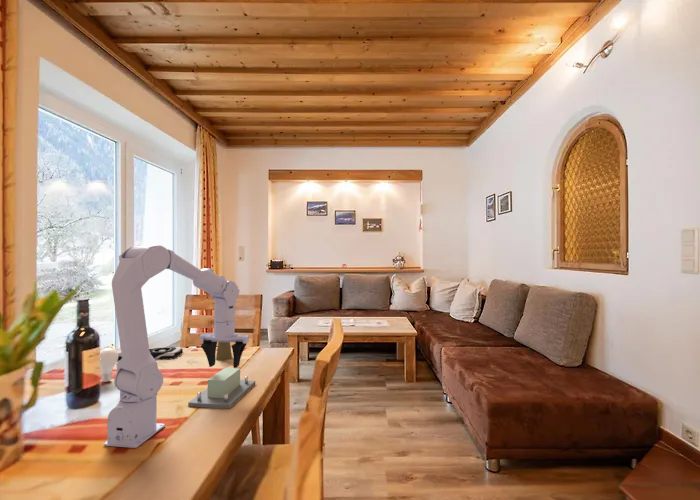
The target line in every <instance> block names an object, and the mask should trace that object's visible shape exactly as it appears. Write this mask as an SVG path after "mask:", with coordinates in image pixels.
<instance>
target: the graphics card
mask: <svg viewBox="0 0 700 500" xmlns="http://www.w3.org/2000/svg"><path fill="white" fill-rule="evenodd" d="M183 350H184V349H183V348H182V347H181V346H180V347H179V346H175V347H174V346H170V347H168V346H165V347H149V351H150V354H151V355H152V356H153V358H154V359H155V360H175V359H176V358H177V357H178V356H179V355H181V354H182V353H183ZM116 351H117V352H118V356H119V357H118V360H117V361H120V360H121V359H122V354H121V348H119V349H117V350H116Z"/></svg>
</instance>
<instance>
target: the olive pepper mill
mask: <svg viewBox="0 0 700 500" xmlns="http://www.w3.org/2000/svg"><path fill="white" fill-rule="evenodd" d="M232 358H233V352H232V345H231V342H217V347H216V354H215V361H218V362H219V361H221V362H223V361H229V360H232Z"/></svg>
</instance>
